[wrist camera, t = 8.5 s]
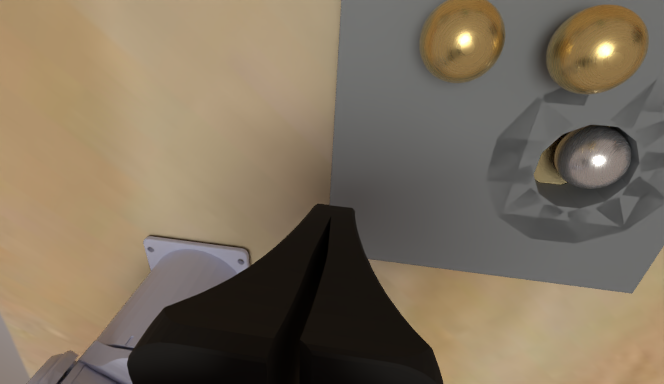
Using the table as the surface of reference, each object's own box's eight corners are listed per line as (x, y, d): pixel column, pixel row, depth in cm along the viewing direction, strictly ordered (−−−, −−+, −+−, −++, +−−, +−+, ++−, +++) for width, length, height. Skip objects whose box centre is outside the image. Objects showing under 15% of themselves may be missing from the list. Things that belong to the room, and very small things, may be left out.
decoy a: (483, 75, 17) (500, 96, 14) (411, 69, 17) (415, 88, 14) (504, -5, 15) (528, 1, 12) (424, -10, 15) (430, -6, 13)
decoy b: (600, 85, 16) (642, 108, 14) (524, 79, 17) (551, 100, 14) (634, 4, 15) (690, 11, 12) (550, -2, 15) (585, 5, 12)
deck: (332, 229, 25) (326, 253, 23) (348, -24, 18) (342, -23, 16) (610, 264, 24) (632, 293, 22) (764, 2, 16) (820, 7, 14)
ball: (576, 174, 21) (638, 191, 19) (535, 183, 20) (594, 202, 17) (587, 118, 20) (654, 127, 17) (544, 124, 19) (609, 134, 16)
